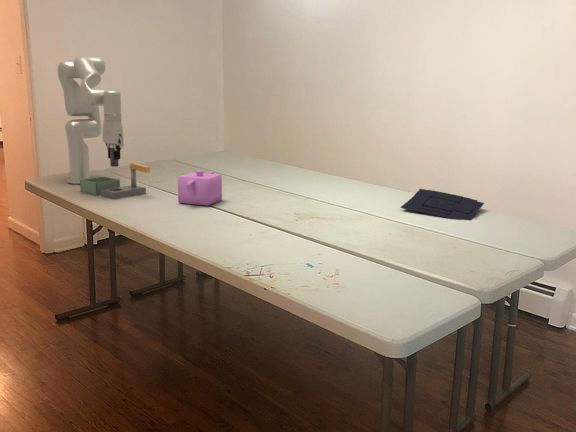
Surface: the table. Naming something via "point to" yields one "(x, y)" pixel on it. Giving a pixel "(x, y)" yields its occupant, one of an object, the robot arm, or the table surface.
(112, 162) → the plug
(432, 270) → the table surface
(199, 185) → the teapot
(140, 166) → the keeper arm
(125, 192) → the grey post stand
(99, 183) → the bin
